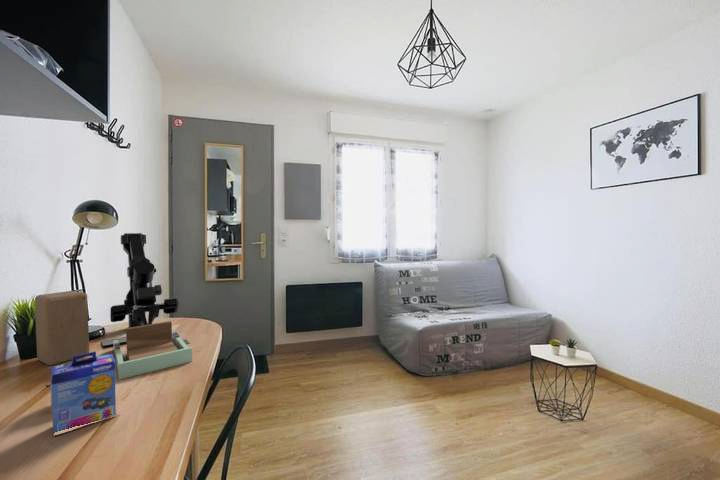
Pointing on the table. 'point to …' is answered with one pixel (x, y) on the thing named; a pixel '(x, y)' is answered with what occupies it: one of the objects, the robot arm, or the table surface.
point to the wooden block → (61, 326)
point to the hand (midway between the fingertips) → (148, 331)
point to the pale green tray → (153, 359)
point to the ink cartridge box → (83, 391)
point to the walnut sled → (149, 340)
